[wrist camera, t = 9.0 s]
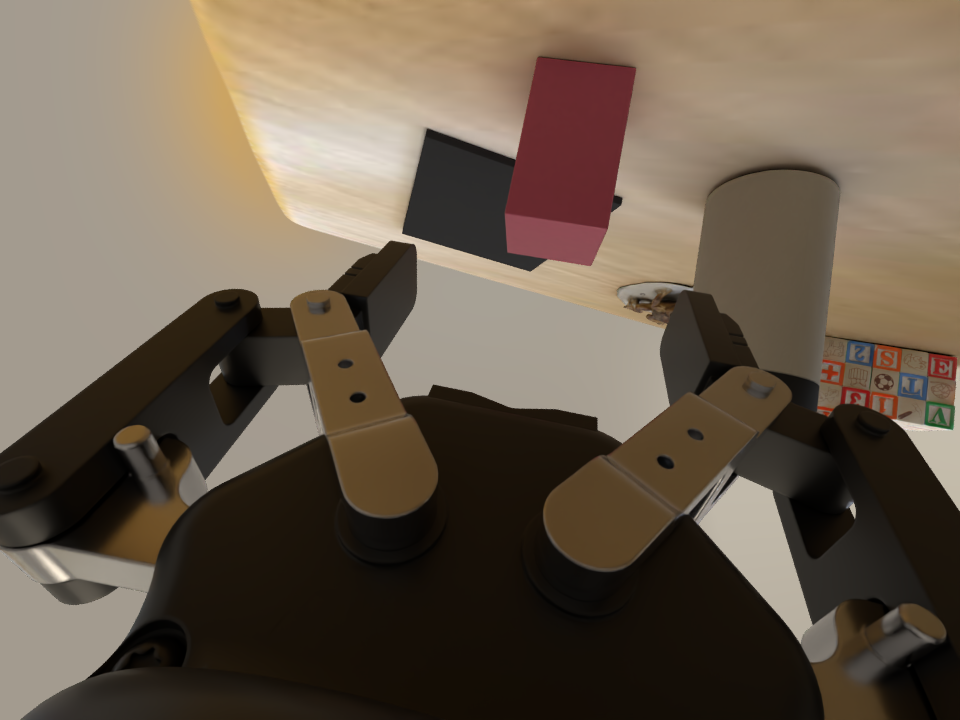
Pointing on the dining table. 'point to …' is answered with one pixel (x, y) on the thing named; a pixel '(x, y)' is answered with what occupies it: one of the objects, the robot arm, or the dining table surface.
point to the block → (568, 160)
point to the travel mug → (774, 269)
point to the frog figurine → (652, 299)
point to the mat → (465, 200)
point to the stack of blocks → (889, 383)
